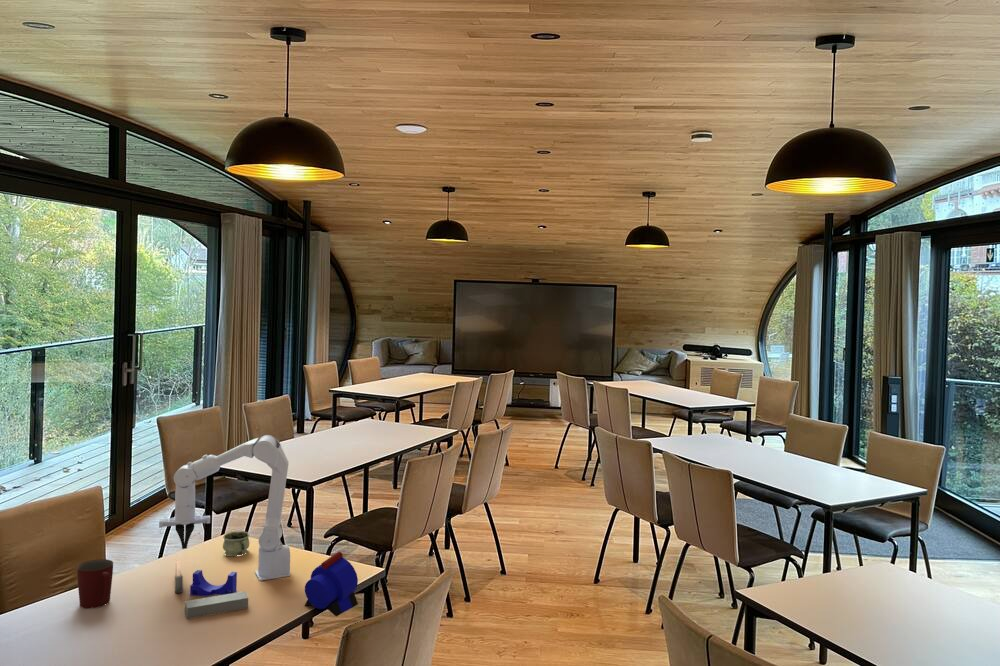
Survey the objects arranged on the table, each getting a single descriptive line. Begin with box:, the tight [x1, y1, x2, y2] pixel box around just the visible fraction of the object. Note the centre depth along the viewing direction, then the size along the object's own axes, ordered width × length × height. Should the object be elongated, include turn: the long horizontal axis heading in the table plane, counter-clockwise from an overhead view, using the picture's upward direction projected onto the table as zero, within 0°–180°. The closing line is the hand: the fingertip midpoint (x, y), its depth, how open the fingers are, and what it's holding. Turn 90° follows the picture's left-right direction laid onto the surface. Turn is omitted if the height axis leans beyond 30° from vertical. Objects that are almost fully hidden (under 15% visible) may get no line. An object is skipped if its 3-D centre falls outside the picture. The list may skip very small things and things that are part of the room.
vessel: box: [222, 530, 251, 557], centre depth 247 cm, size 12×9×6 cm
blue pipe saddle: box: [189, 569, 238, 597], centre depth 214 cm, size 12×4×6 cm, turn 89°
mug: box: [76, 558, 114, 609], centre depth 203 cm, size 12×9×11 cm
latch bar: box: [174, 559, 184, 594], centre depth 220 cm, size 16×2×4 cm, turn 25°
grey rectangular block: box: [184, 590, 249, 620], centre depth 203 cm, size 16×5×3 cm, turn 120°
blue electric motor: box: [304, 551, 359, 617], centre depth 208 cm, size 12×12×15 cm
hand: (184, 547), depth 224 cm, fingers closed
